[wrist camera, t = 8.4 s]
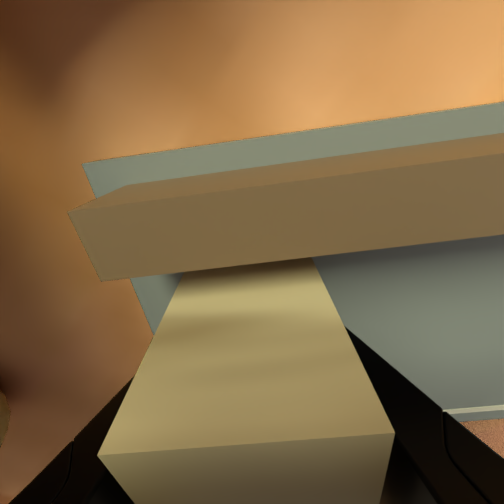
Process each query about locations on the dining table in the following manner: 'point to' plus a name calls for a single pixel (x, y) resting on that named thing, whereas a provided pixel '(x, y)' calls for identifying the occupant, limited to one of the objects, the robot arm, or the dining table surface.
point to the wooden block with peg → (250, 398)
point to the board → (380, 283)
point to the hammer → (3, 417)
